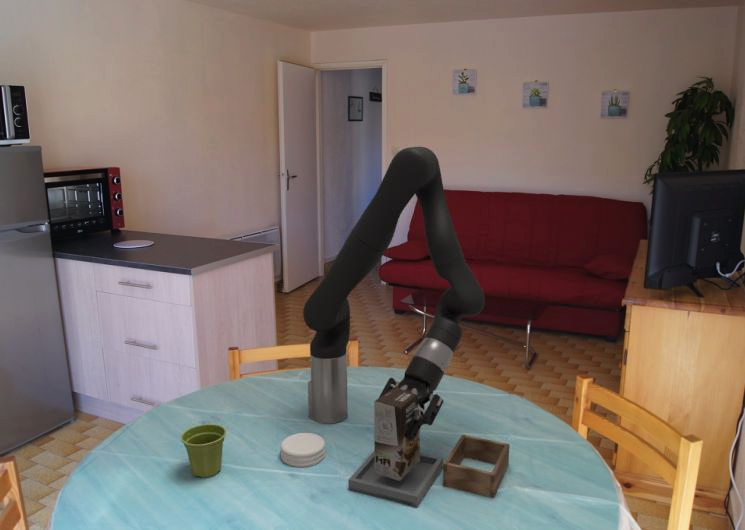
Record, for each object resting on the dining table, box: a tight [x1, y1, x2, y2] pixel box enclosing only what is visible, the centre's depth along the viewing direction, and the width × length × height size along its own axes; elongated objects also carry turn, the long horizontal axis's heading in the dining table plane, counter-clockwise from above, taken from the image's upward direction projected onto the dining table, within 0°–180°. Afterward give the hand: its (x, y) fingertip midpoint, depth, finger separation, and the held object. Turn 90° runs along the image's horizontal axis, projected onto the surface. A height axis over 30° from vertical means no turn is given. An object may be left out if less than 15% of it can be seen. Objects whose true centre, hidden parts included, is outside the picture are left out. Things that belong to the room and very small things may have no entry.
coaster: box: [280, 432, 326, 468], centre depth 138 cm, size 10×10×4 cm
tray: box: [348, 449, 444, 508], centre depth 129 cm, size 15×16×2 cm
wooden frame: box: [442, 434, 510, 499], centre depth 129 cm, size 11×14×5 cm
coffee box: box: [373, 387, 421, 481], centre depth 127 cm, size 9×6×16 cm
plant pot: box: [180, 423, 227, 479], centre depth 131 cm, size 9×9×9 cm
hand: (393, 432), depth 126 cm, fingers closed on coffee box, 7 cm apart
